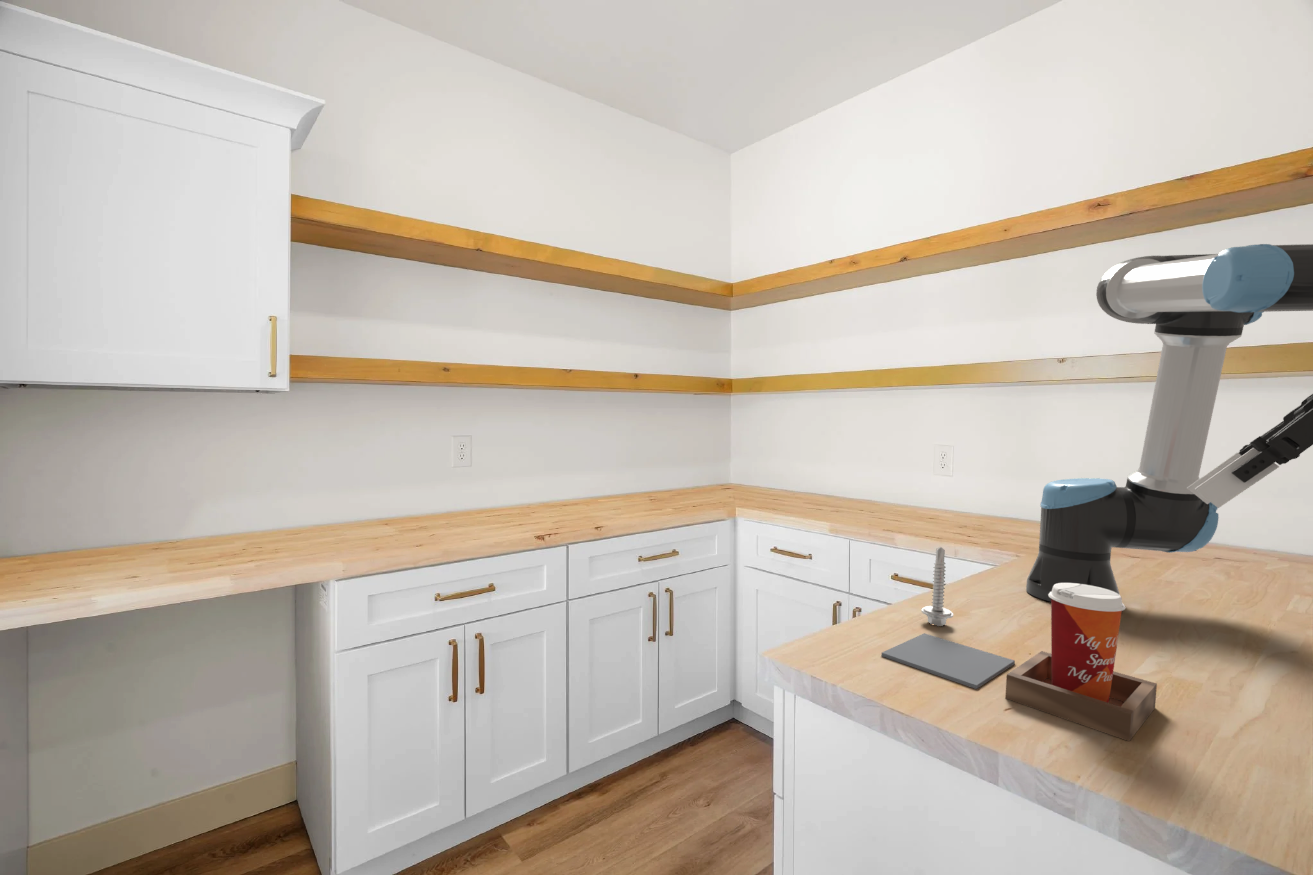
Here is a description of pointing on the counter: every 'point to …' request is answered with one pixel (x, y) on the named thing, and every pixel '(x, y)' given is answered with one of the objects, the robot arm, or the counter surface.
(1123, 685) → the cup holder
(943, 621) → the screw
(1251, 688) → the counter surface
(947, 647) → the slate mat
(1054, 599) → the paper cup
